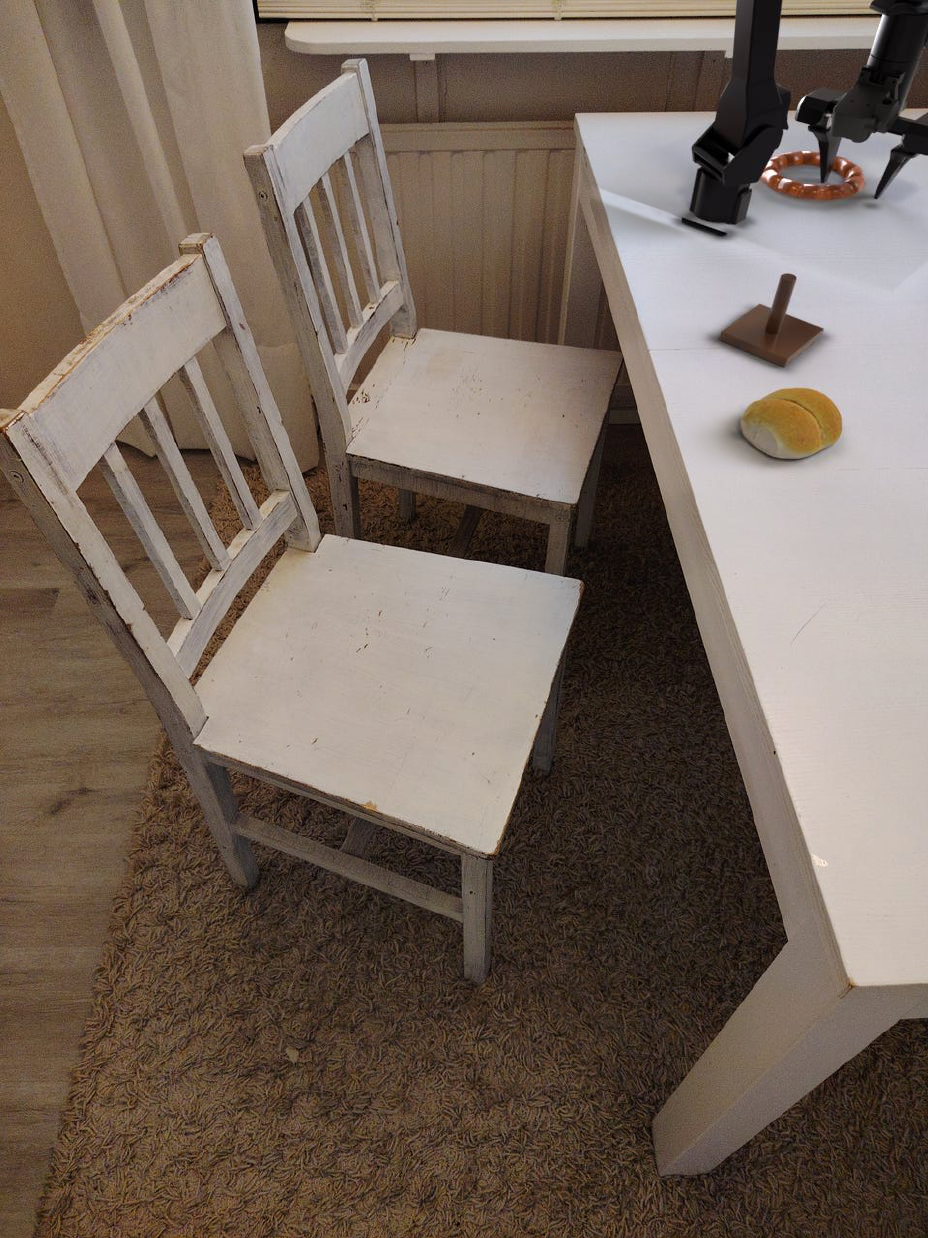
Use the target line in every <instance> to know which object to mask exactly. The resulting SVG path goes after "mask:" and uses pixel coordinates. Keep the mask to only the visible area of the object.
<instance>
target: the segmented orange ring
mask: <svg viewBox="0 0 928 1238" xmlns="http://www.w3.org/2000/svg"><path fill="white" fill-rule="evenodd" d="M802 165H804V166H815V167H816V166H819V167H820V152H819V151H810V150H809V151H808V150H797V151H791V152H784V153H779V154H777V155H775V156H773V157H771V158H770V160H769V162H768V164H767V166H766V168H765V170H764V172H763V174H762V175H761V177H760V181H761V182H763V183H764V184H765V185H767V186H768V187H769V188H770V189H772V190H774V191H775V192H778V193H781V194H784V195H787V196H791V197H793V198H796V199H797V198H798V199H803V200H805V199H806V200H818V201H833V200H839V199H845V198H851V197H853V196H855V195H856V194H858V193H859V192H860V191H862V190H863V189H864V188H865V187H866V179H865V173H864V170H863V168H861V167H860V166H859V165H858V164H855V163H854V162H853V161H851V160H849V159H848V158H846V157H842V156H839V155H836V158H835V162H834V165H833V168H832V171H835V172H837V173H838V174H840V175H841V176H843V177H844V180H845V181H844V182H842V183H836V184H829V185H823V184H821V185H819V184H809V183H808V184H807V183H802V182H799V181H795V180H792V179H789V178H786V176H783V175H782V174H781V173H780V172H781V171H782V170H784V169H786V168H788V167H795V166H802Z"/></svg>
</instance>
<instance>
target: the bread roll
mask: <svg viewBox="0 0 928 1238" xmlns="http://www.w3.org/2000/svg"><path fill="white" fill-rule="evenodd" d="M740 426H741V427H740V428H741V431H742V434H743V436H744V438H745V439H746V440H747V441H749V442H750V443H751V444H752V445H753V446H754V447H755V448H757V449H758V450H760V451H761V452H763V453H764V454H767V455H769V456H771V457H773V458H778V459H789V460H791V459H794V460H796V459H797V460H799V459H804V458H806V457H809V456H811V455H814V454H816V453H818V452H820V451H821V450H824V449H826V448H829V447H830V446H832V445H834V444H835V443H837V442H838V441H839V439H840V438H841V434H842V432H843V418H842V414H841V411H840V409H839V408H838V406H837V405H836V404H835V403H834V401H833V400H832V399H831V398H830V397H829V396H828V395H826V394H824V393H822V392H820V391H818V390H816V389H813V388H807V387H791V388H790V387H789V388H780V389H778V390H774V391H773V392H770V393H769V394H767V395H765V396H763V397H762V398H760V399H758V400H755V401H753V402H752V403H750V404H749V405H748V406H747V407H746V409H745V411H744V412H743V414H742V416H741V418H740Z"/></svg>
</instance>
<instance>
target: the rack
mask: <svg viewBox="0 0 928 1238" xmlns="http://www.w3.org/2000/svg"><path fill="white" fill-rule="evenodd" d="M797 278H798V277H797V276H796V275H795V274H794V273H790V272H787V273H786V272H785V273H782V274H781V275H780V277H779V282H778V285H777V288H776V291H775V294H774V297H773V301H772V304H771V307H770V306H767V305H765V304H762V303H758V304H757V305H755V306H754V307H753V308H751V309H750V310H749V311H747V312H745V313H744V314H743V315H742V316H740V317H739V318H737V320H735V321H733V322H732V323H731V324H730V325H728V326H726V327H725V328H724V329H723V330H721V332H720V334H719V338H718V340H719V341H721V342H724V343H725V344H728V345H729V346H733V347H735V348H737V349H740V350H742V351H744V352H746V353H750V354H751V355H754V356H757V357H759V358H761V359H762V360H763V359H764V360H766V361H768V362H771V363H772V364H775V365H777V366H780V367H782V368H785V367H787V366H788V365H789V364H790V363H791V362H792V361H794V360H795V359H796V358H797V357H799V356H800V355H801V354H802V353H804V352H805V351H806V350H807V349H808V348H809V347H811V346H812V345H813V344H814V343H815V342H817V341H818V340H819V339H821V338H822V335H823V333H824V330H825V328H823V327H821V326H819V325H815V324H813V323H811V322H808V321H805V320H803V319H800V318H798V317H796V316H794V315H793V316H792V315H791V314H788V313H787V311H788V308H789V306H790V305H789V304H790V301H791V299H792V296H793V292H794V288H795V285H796V282H797Z"/></svg>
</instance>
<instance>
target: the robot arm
mask: <svg viewBox="0 0 928 1238" xmlns="http://www.w3.org/2000/svg"><path fill="white" fill-rule="evenodd" d="M868 6H869V10H871V11H873V12H876V13H878V14H881V15H882V16H881V19H880V22H879V25H878V27H877V30H876V34H875V37H874V40H873V43H872V46H871V50H870V53H869V56H868V59H867V63H866V64H865V65H863V66H862V67H861V70H860V72H859V74H858V77H857V80H856V82H855V83H854V84H853V86H852V88H851V89H849V90H848V91H847V92H846V91H841V90H837V89H833V88H828V87H824V86H821V87H819V88H817V89H815V90H814V91H812V92H809V94H806V95H805V96H803V98H801V100H800V101H799V102H798V104H797V108H796V111H795V115H794V121H795V122H798V123H801V124H805V125H807V131H808V132H810V133H812V134H813V135H814V137H815V138H816V140H817V146H818V152H820V166H819V175H820V176H819V177H820V183H821V184H825V183H826V182H827V181H828V179H829V177H830V175H831V173H832V171H833V170H832V168H833V165H834V162H835V158H836V156H838V152H839V149H840V146H841V142H842V140H843V139H846V140H850V141H851V142H852V143H855V144H862V143H864V142H865V143H866V141H868V139H870V136H871V135H872V134H876V133H879V134H884V135H886V133H887V134H892V135H895V136H899V137H901V138H900V143H899V144H897V145H896V146H894V147H893V148H891V149H890V153H889V160H888V162H887V165H886V167H885V169H884V171H883V173H882V175H881V177H880V180H879V181H878V184H877V186H876V189H875V194H874V196H873V199H874V200H878V199H879V198H881V196H882V195H883V194H884V192H885V191H886V190H887V188H889V186H890V185H891V184H892V182H893V181H894V180H895V178H896V177H897V175H898V174H899V173H900V172H901V171H902V170H903V168H904V167H905V165H907V163H908V162H909V161H910V160H911V159H915V158H916V157H918V156H919V155H922V156H928V111H927V112H925V113H923V114H922V115H921V116H919V117H918V118H916V119H912V118H908V117H904V116H901V113H902V112H904V111H905V109H906V107H907V104H908V100H906V99H907V96H908V94H909V92H910V88H911V85H912V83H913V80H914V77H915V75H916V74H918V73H919V72H920V68H921V65H922V63H921V62H920V60H921V58H922V55H923V52H924V49H925V50H927V51H928V0H872V1H870V3H869V4H868ZM782 9H783V0H736V6H735V17H734V18H735V20H734V33H733V47H732V61H731V73H730V78H729V81H728V82H727V84H726V86H725V88H724V90H723V91H722V93H721V95H720V97H719V99H718V103H717V108H716V112H715V117H714V121H713V122H712V123H711V124H710V125H709V127H707V129H706V130H705V131H704V132H703V133H702V134H701V135H700V136H699V137H698V138H697V139H696V141H695V142H694V143H693V144H692V145H691V156H692V157H691V158H692V162H693V163H694V164H697V165H698V166H700V167H698V168H697V169H696V174H695V179H694V183H693V184H694V186H693V189H692V195H691V199H690V205H689V212H692V213H693V214H694V216H695V217H697V219H699V220H702V221H704V222H708V223H713V224H727V225H732V226H736V225H738V224H739V223H741V222H742V221H744V220H745V219H747V215H748V210H749V206H750V202H751V199H752V193H753V188H751V184H755V183H758V182H759V181H760V180H761V175H762V174H763V172H764V170H765V168H766V166H767V164H768V162H769V160H770V159H772V158H773V157H772V156H773V154H774V153H775V151H777V150H778V149H779V148H780V145H781V143H782V140H783V137H784V130H785V131H788V130H789V129H790V126H789V123H788V114H789V110H790V106H791V102H792V92H791V91H790V90H789V89H787V88H785V87H783V86H782V85H780V84H779V83H777V80H776V65H777V55H778V45H779V38H780V30H781V29H780V27H781V18H782ZM680 222H681V223H683V224H685V225H688V226H691V227H694V228H697V229H698V230H699V229H700V230H703V231H705V232H708V233H710V234H714V235H716V236H718V237H719V236H720V237H724V236H726V235H727V234H728V232H725V231H722V230H721V229H718V228H714V227H711V226H708V225H706V224H702V223H700V222H697V221H695V220H692V219H688V218H685V217H681V220H680Z"/></svg>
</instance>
